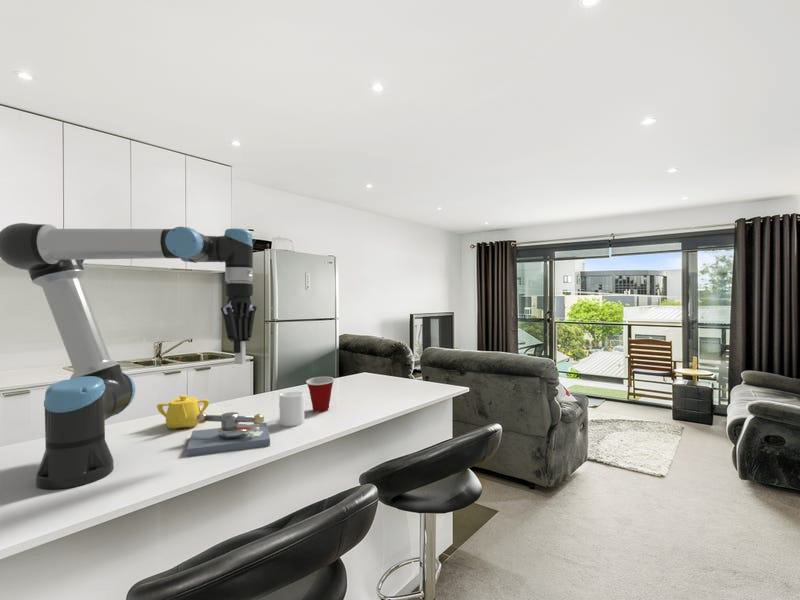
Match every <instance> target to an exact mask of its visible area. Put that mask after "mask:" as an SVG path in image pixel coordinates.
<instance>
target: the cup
mask: <svg viewBox="0 0 800 600" xmlns="http://www.w3.org/2000/svg"><path fill="white" fill-rule="evenodd" d="M278 397H279V398H278V399H279V402H278V404H279V405H278V406H279V407H278V408H279V424H280V425H281V426H283V427H297V426H300V425H303V423H305V393H304V391H299V390H297V391H293V390H291V391H285V392H282V393H280V394H279V396H278Z"/></svg>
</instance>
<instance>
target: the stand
mask: <svg viewBox="0 0 800 600" xmlns="http://www.w3.org/2000/svg"><path fill="white" fill-rule="evenodd" d="M249 425H250V426H253V429H251V432H250V433H249V434H247V435H245V436H241V437H236V438H222V437H220V436H219V429H220V428H221V427H217V428H216V427H215V428H208V429H205V428H204V429H197V430H193V431H192V432H191V435H190V438H189V441H188V444H187V447H186V457H192V456H199V455H207V454H213V453H214V454H216V453H222V452H223V453H224V452H230V451H238V450H246V449H254V448H262V447H268V446H271V437H270V433H269V430H268V425H267V423H266V422H263V423H262V424H260V425H256V424H254V423H251V424H249Z"/></svg>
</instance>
